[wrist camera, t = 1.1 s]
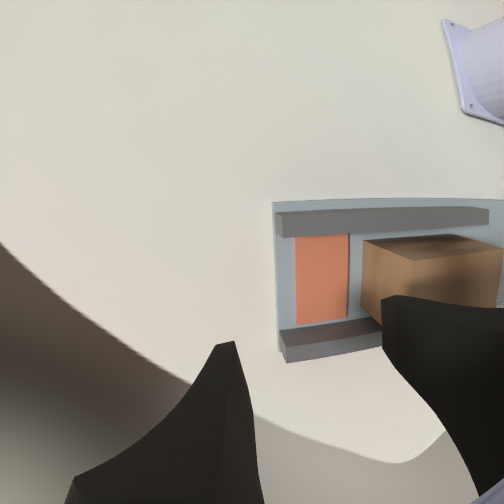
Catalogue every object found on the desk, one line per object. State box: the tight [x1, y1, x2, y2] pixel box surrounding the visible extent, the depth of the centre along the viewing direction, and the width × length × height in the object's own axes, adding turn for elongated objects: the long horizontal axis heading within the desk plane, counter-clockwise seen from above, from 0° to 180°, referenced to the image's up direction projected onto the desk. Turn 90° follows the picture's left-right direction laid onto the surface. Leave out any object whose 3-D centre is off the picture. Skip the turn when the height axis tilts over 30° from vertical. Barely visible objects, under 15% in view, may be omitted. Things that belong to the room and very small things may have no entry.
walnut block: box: [360, 233, 504, 325], centre depth 15 cm, size 7×4×5 cm, turn 93°
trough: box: [272, 198, 504, 363], centre depth 17 cm, size 26×9×2 cm, turn 93°
